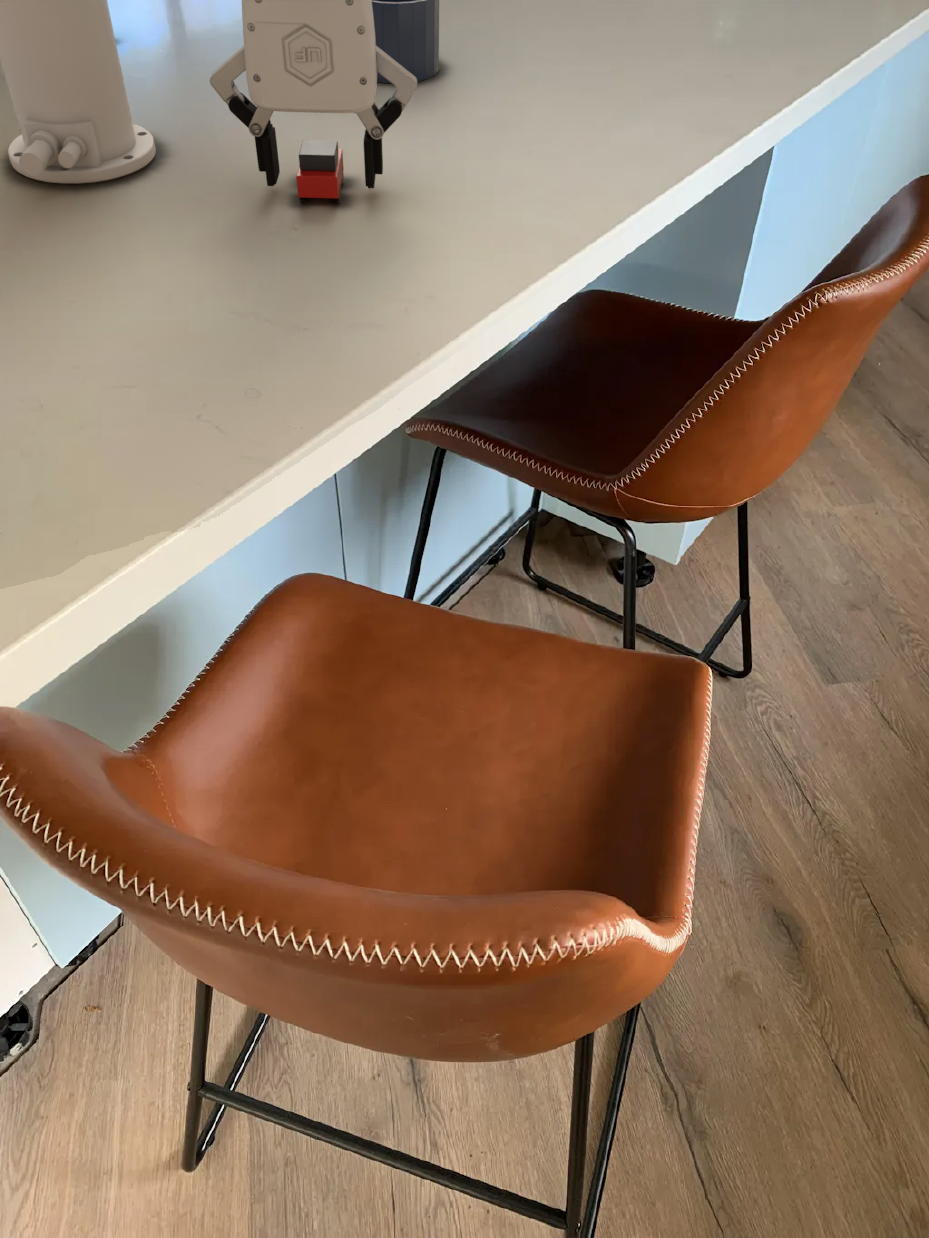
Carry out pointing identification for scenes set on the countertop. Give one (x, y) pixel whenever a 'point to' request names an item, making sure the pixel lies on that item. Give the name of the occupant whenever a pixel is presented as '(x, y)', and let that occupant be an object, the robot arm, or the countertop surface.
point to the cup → (408, 34)
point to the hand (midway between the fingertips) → (322, 179)
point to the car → (320, 170)
